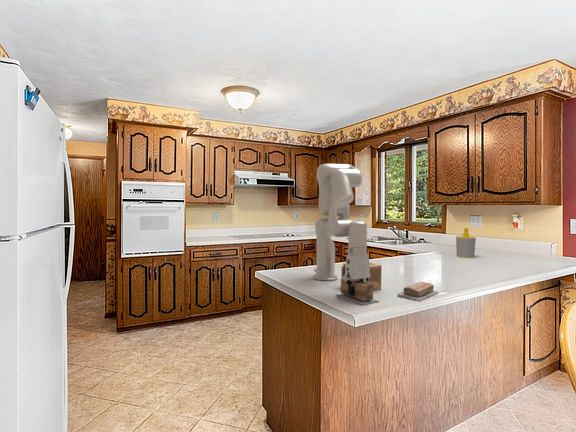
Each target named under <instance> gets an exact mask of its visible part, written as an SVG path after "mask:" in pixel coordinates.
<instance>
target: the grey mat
mask: <svg viewBox="0 0 576 432" xmlns="http://www.w3.org/2000/svg"><path fill="white" fill-rule="evenodd" d="M335 296H337V297H339V298H341V299H344V300H346V301H349V302H352V303H354V304H357V305H360V306H367V305H370V304H371V305H372V304H375V303H379V302H380V301H379V300H376V299H374V298H373V299H371V300H366V301H362V300H360V299H357V298H354V297H351V296H349V295H346V294H343V293H337V294H336V295H335Z"/></svg>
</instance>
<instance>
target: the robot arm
mask: <svg viewBox="0 0 576 432" xmlns="http://www.w3.org/2000/svg"><path fill="white" fill-rule="evenodd" d="M316 180H317V183H318V188H319V190H318V192H319V193H318V212H319V214H320V215H322V216H328V217H322V218H319V219H317V220H316V221H315V224H314V230H315V237H316V268H314V269H313V272H314V273H315V274H314V275H313V279H314V280H317V281H325V282H326V281H330V282H331V281H337V280H338V277H339V276H338V275H336V274H335V270H336V268H335V267H336V266H335V265H336V246H335V245H336V244H335V242H334V240H333V239H332V238H331V237H336V238H348V239H347V241H348V244H347V245H348V246H347V249H346V252H347V254H346V258H345V263H346V266H345V275H344V276H343V278H342V279H343V280H344V281H345V282H346V283H347V285H348V286H349V287H348V294H349V295H351V296H355V287H354V282H355V280H358V279H359V280H360V281H363V282H367V281H368V279H369V278H370V276H371V274H370V264H369V263H370V259H369V254H368V251H367V250H368V249H367V248H368V246H367V245H368V224H367V222H366V221H361V220H359V219H350V212H351V211H350V204H352V202H353V201H354V199H355V197H354V192H353V188H359V187H360V186H361V185H362V182H363V175H362V173H361V171H360V170H359V169H358V168H357V167H355V166H354V165H352V164H346V163H323V164H319V166H317V169H316ZM351 280H352V282H351Z"/></svg>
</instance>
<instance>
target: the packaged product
mask: <svg viewBox="0 0 576 432" xmlns="http://www.w3.org/2000/svg"><path fill="white" fill-rule="evenodd" d="M437 294H439V291H434V284H432V283H430V282H425V281H424V282H423V281H419V282H416V283H413V284H410V285H407V286H405V287H403V291H402V292H399V293H397V297H398V298H403V299H407V300H412V301H416V302H422V301H423V300H426V299H429V298H431V297H433V296H435V295H437Z"/></svg>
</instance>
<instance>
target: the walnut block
mask: <svg viewBox="0 0 576 432" xmlns="http://www.w3.org/2000/svg"><path fill="white" fill-rule="evenodd" d="M351 282H352V280H351ZM348 287H349V286H348V285H347V283H346V282H345V281H344V280H343V279H341V278H340V294H346V295H349V294H348ZM354 287H355V296H351V295H349V296H351V297H354V298H357V299H360V300H362V301H366V300H371V299H374V291H373V284H370V283H367V282H363V281H360V280H355V282H354Z"/></svg>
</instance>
